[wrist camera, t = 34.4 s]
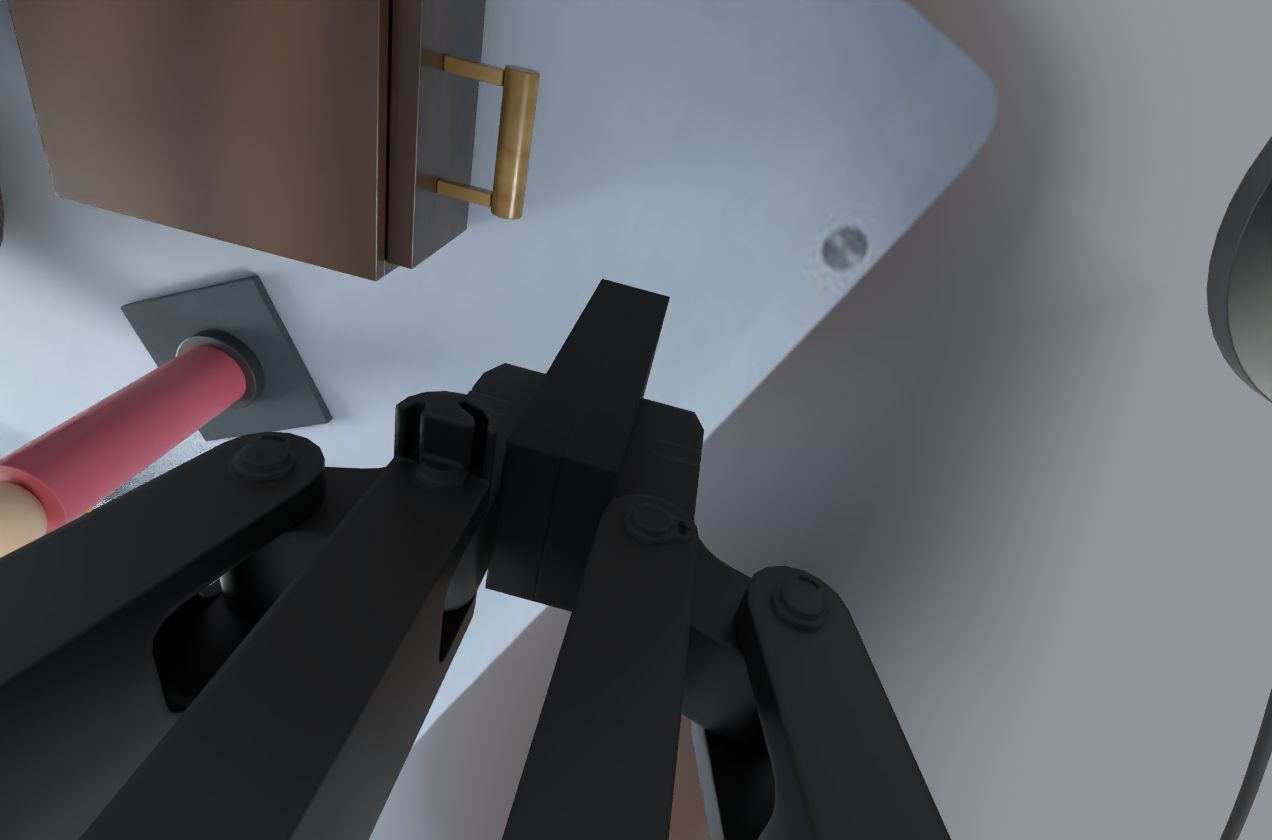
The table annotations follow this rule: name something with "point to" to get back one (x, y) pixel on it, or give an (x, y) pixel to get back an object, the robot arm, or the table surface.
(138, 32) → the cabinet
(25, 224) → the table surface
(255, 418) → the mat
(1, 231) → the bowl
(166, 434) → the ball-topped pink peg
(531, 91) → the drawer
